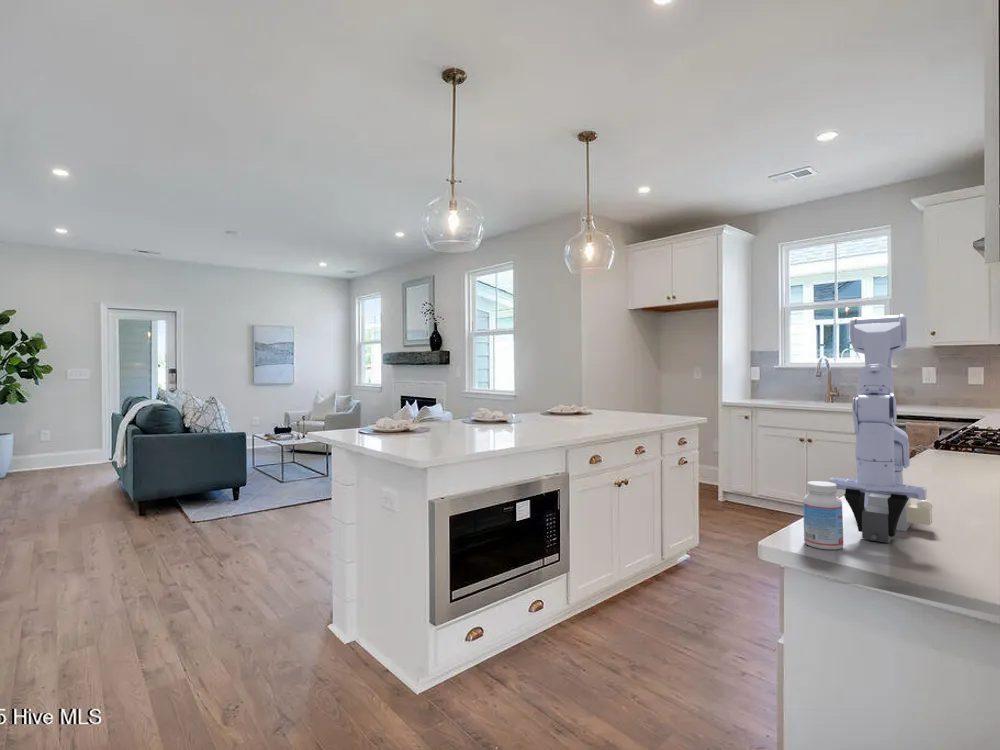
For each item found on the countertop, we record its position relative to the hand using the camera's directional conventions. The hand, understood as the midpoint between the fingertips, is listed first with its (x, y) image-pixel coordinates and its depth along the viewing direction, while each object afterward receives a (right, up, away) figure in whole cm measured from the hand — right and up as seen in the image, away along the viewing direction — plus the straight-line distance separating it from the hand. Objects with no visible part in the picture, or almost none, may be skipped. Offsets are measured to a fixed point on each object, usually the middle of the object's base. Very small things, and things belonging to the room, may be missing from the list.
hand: (876, 532), depth 98 cm
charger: (+1, -1, +1) cm, 2 cm away
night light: (+13, 0, +6) cm, 14 cm away
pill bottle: (-11, -2, -2) cm, 11 cm away
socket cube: (+9, -1, +9) cm, 13 cm away
